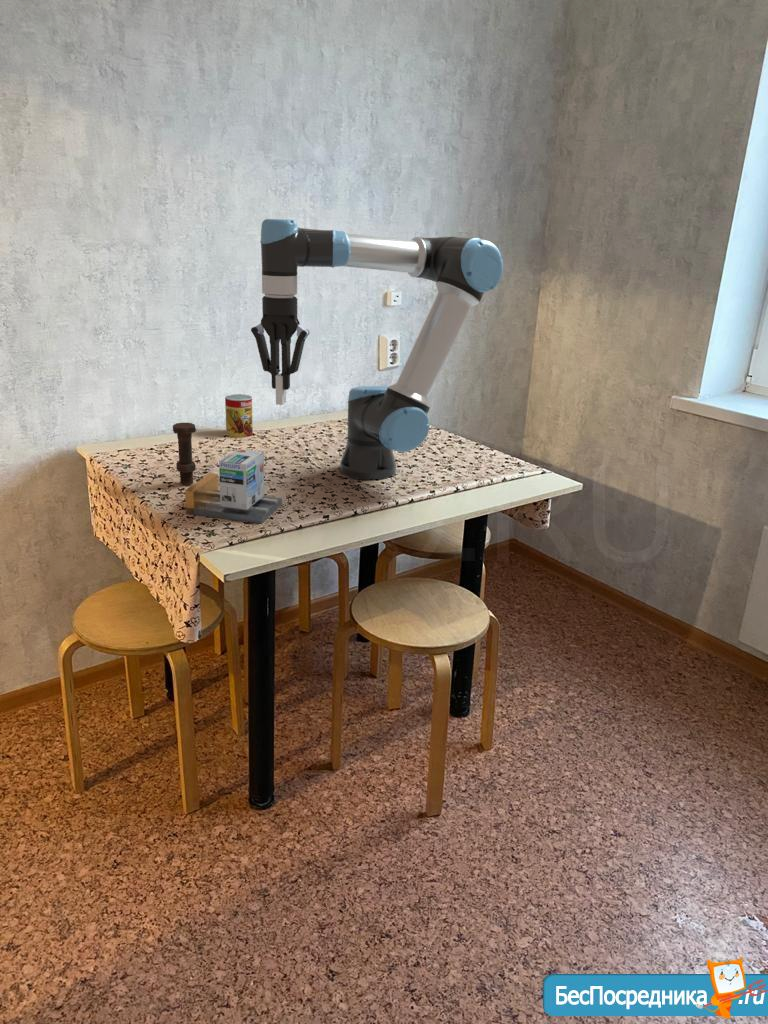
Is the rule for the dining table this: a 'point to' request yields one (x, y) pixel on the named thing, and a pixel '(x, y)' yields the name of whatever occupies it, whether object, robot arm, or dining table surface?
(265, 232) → the robot arm
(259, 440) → the dining table surface
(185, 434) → the bolt
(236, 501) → the light bulb box
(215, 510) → the rail plate
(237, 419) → the canned food
